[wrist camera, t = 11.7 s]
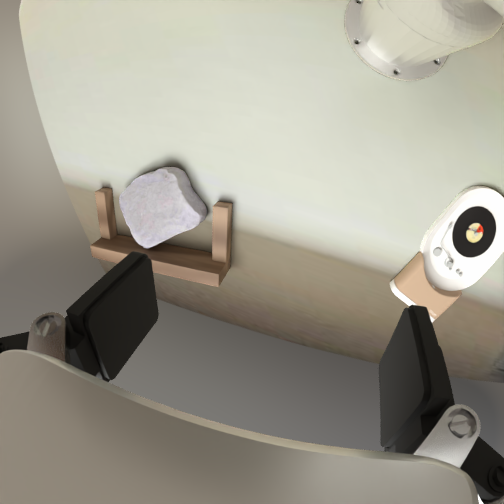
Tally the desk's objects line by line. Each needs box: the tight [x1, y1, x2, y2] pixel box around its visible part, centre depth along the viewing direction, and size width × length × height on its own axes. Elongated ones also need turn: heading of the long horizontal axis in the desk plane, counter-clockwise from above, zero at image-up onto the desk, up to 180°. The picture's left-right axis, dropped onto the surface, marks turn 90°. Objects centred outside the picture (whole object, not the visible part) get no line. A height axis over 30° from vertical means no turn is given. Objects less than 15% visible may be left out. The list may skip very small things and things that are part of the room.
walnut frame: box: [90, 188, 233, 287], centre depth 42 cm, size 10×22×5 cm, turn 86°
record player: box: [390, 186, 504, 322], centre depth 34 cm, size 12×3×20 cm
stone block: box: [119, 167, 207, 249], centre depth 42 cm, size 12×5×10 cm
